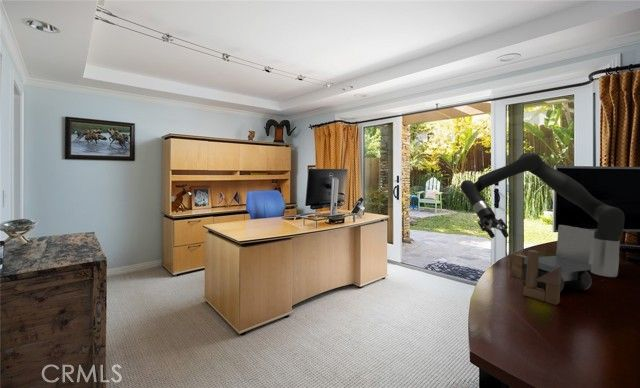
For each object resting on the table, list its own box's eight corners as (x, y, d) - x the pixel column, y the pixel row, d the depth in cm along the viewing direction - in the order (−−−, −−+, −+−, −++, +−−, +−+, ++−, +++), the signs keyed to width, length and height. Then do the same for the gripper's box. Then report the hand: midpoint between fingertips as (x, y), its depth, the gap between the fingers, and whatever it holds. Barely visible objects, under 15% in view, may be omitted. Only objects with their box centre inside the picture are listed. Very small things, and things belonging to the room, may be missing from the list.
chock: (518, 274, 143) (519, 254, 142) (527, 278, 138) (529, 257, 137) (511, 275, 141) (512, 254, 141) (521, 279, 137) (522, 257, 136)
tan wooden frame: (556, 305, 109) (559, 256, 108) (522, 295, 118) (525, 250, 117) (559, 303, 111) (563, 255, 110) (526, 293, 120) (529, 249, 119)
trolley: (553, 279, 137) (557, 224, 136) (593, 292, 122) (598, 230, 120) (519, 282, 132) (523, 225, 130) (556, 297, 117) (561, 232, 115)
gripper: (476, 206, 155) (493, 233, 145) (498, 206, 159) (516, 232, 149) (468, 215, 161) (484, 241, 151) (490, 215, 165) (506, 240, 154)
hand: (500, 237), depth 150 cm, fingers open, 8 cm apart
